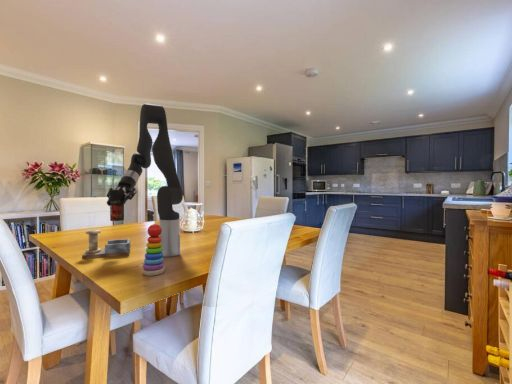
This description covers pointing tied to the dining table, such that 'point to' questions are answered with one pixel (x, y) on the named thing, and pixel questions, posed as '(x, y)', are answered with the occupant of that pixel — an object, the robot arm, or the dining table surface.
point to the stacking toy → (153, 252)
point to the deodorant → (116, 205)
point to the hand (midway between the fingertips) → (114, 204)
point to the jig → (110, 249)
